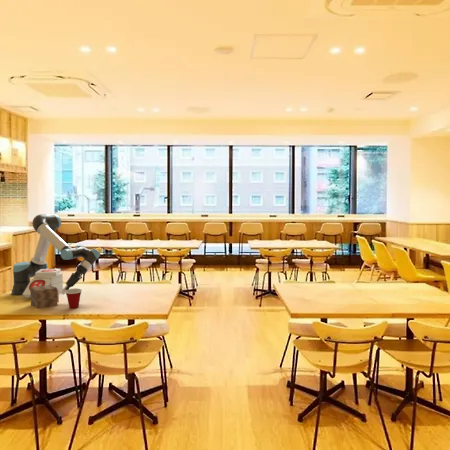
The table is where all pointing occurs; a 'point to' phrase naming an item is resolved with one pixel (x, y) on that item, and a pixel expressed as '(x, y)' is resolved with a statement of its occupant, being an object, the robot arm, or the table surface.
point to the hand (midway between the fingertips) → (62, 293)
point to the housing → (43, 296)
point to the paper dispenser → (45, 280)
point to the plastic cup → (73, 297)
